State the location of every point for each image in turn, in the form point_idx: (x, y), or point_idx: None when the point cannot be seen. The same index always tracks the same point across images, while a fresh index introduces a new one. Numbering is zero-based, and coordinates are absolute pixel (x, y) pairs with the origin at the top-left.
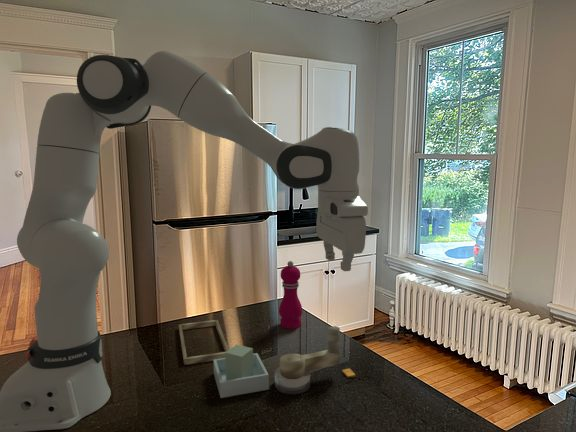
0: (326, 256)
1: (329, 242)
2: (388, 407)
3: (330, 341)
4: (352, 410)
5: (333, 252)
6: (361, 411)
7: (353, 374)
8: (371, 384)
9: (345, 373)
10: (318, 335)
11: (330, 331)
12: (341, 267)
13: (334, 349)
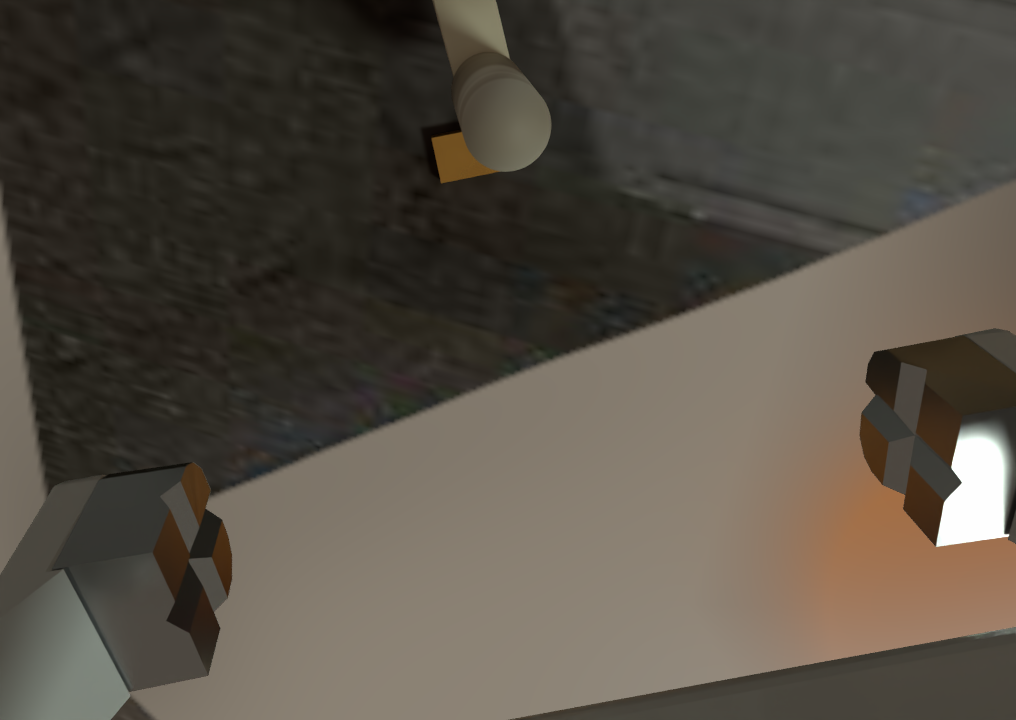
0: (981, 357)
1: (754, 711)
2: (161, 258)
3: (471, 75)
4: (124, 80)
5: (970, 529)
6: (119, 124)
7: (443, 173)
8: (361, 238)
9: (459, 133)
10: (954, 80)
11: (477, 89)
12: (133, 487)
13: (453, 92)
